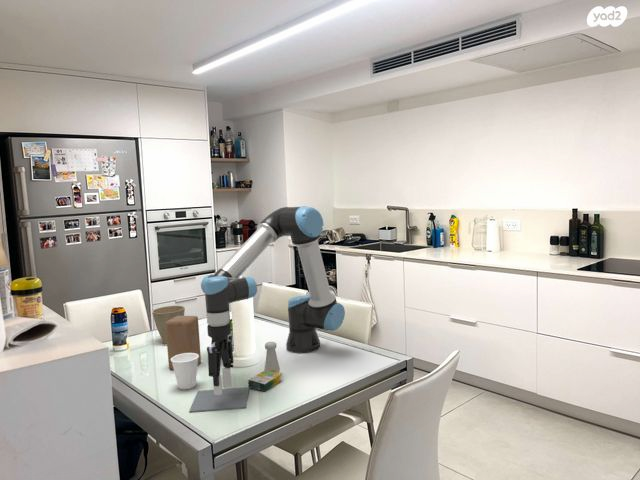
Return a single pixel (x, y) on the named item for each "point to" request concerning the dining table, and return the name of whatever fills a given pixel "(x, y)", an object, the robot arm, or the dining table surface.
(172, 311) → the plant pot
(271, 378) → the crayon box
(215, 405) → the mat
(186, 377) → the cup
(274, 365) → the salt shaker
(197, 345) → the wooden block
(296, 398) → the dining table surface
